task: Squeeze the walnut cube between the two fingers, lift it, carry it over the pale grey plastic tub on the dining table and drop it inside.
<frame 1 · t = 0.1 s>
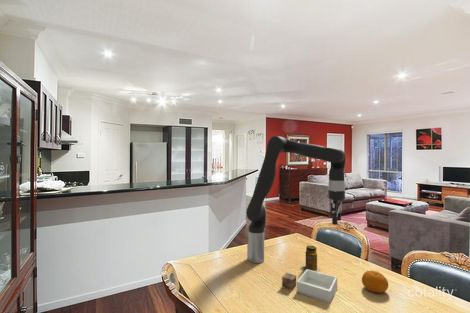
hand: (336, 222, 119), 29 cm above the table, fingers open, 8 cm apart
walnut cube: (289, 286, 114), on the table
tub: (317, 290, 111), on the table
fruit: (374, 290, 111), on the table
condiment: (310, 269, 132), on the table
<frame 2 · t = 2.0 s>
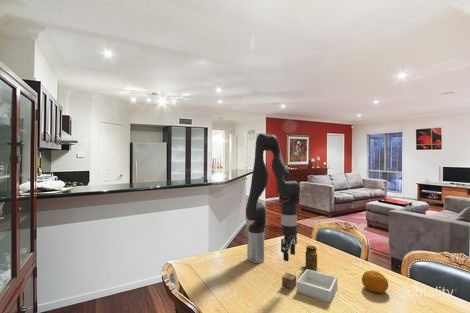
hand: (289, 257, 114), 14 cm above the table, fingers open, 8 cm apart
nothing on the table moved.
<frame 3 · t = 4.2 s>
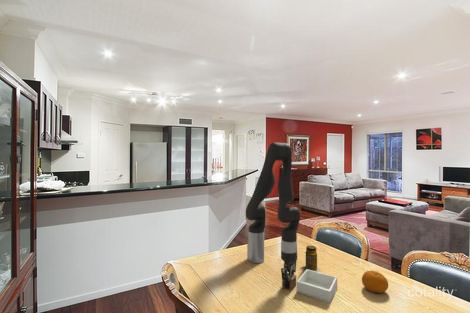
hand: (289, 285, 114), 1 cm above the table, fingers closed on walnut cube, 5 cm apart
walnut cube: (289, 286, 114), on the table, touching gripper
everything else where it was.
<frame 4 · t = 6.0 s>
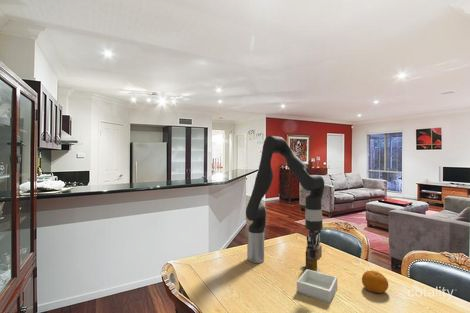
hand: (314, 255, 111), 16 cm above the table, fingers closed on walnut cube, 5 cm apart
walnut cube: (314, 256, 111), point 15 cm above the table, touching gripper
everything else where it was.
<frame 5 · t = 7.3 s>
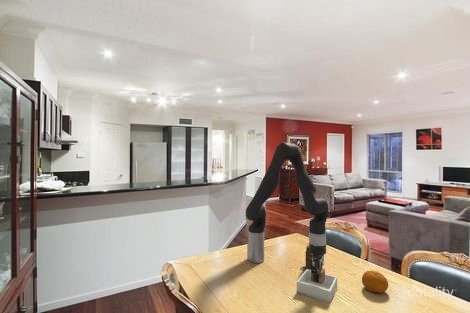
hand: (317, 278, 111), 5 cm above the table, fingers closed on walnut cube, 5 cm apart
walnut cube: (317, 280, 111), point 5 cm above the table, touching gripper
everything else where it was.
when the fingers open (4 cm above the table, at t = 8.3 s): walnut cube drops 2 cm, resting on tub.
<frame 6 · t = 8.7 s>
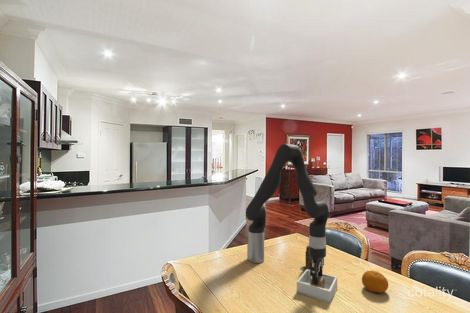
hand: (317, 280, 111), 5 cm above the table, fingers open, 8 cm apart
walnut cube: (317, 288, 111), point 1 cm above the table, touching tub
everything else where it was.
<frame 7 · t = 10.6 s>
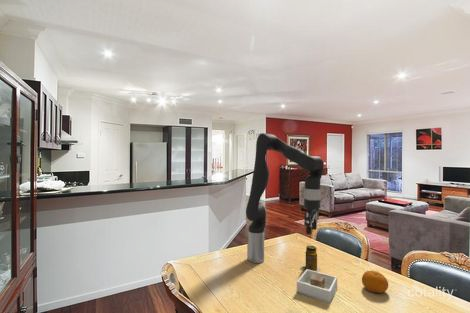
hand: (311, 231, 116), 26 cm above the table, fingers open, 8 cm apart
nothing on the table moved.
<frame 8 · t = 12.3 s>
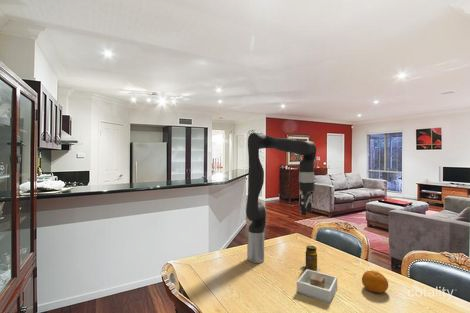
hand: (306, 213, 121), 33 cm above the table, fingers open, 8 cm apart
nothing on the table moved.
at the end: walnut cube inside the target area on the tub (0.2 cm from its centre), point 0.8 cm above the tub's base; the gripper is holding nothing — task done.
